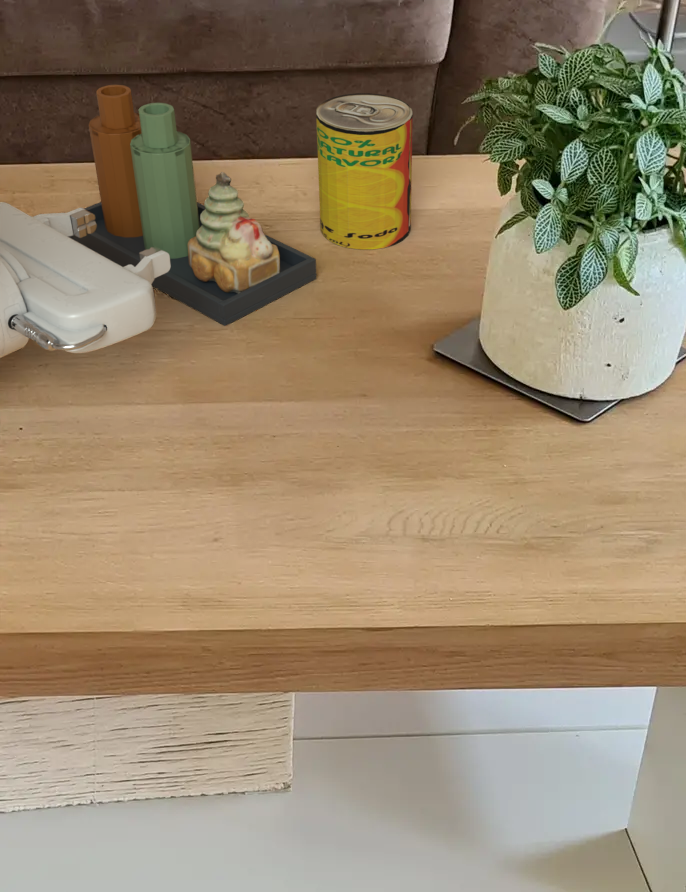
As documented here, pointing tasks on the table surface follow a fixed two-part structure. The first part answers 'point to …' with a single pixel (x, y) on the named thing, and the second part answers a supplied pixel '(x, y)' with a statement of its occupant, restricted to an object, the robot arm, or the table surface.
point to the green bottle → (164, 181)
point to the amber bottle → (116, 159)
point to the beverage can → (364, 170)
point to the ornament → (231, 243)
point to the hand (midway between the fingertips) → (126, 237)
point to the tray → (199, 293)
